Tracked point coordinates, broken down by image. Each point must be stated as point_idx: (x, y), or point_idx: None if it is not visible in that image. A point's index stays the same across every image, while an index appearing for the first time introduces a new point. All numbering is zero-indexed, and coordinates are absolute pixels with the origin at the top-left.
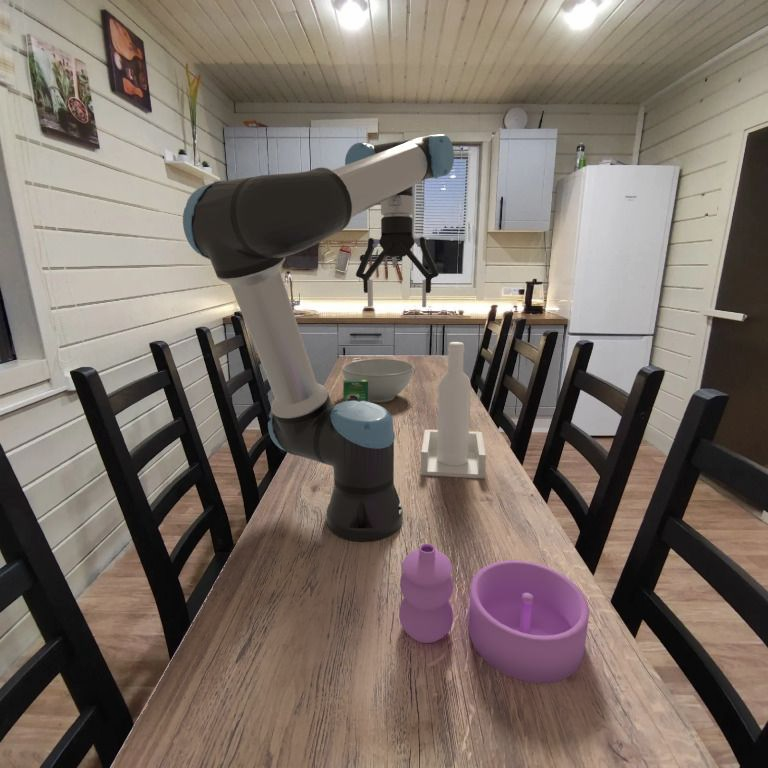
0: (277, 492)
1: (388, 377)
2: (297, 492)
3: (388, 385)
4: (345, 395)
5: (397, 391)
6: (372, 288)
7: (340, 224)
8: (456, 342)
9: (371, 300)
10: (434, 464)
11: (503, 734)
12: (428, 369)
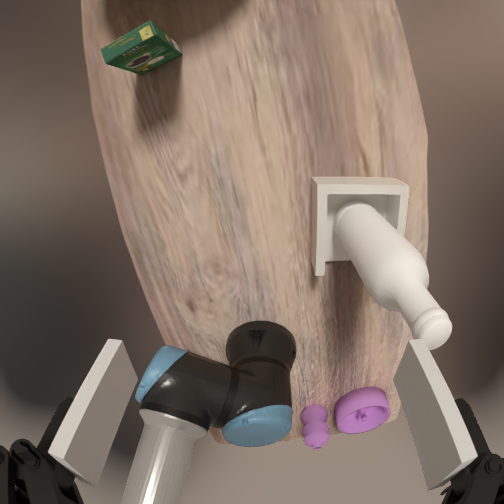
0: (159, 316)
1: None
2: (177, 314)
3: None
4: (122, 66)
5: None
6: (87, 417)
7: None
8: (440, 329)
9: (123, 388)
10: (329, 239)
11: (337, 429)
12: None
